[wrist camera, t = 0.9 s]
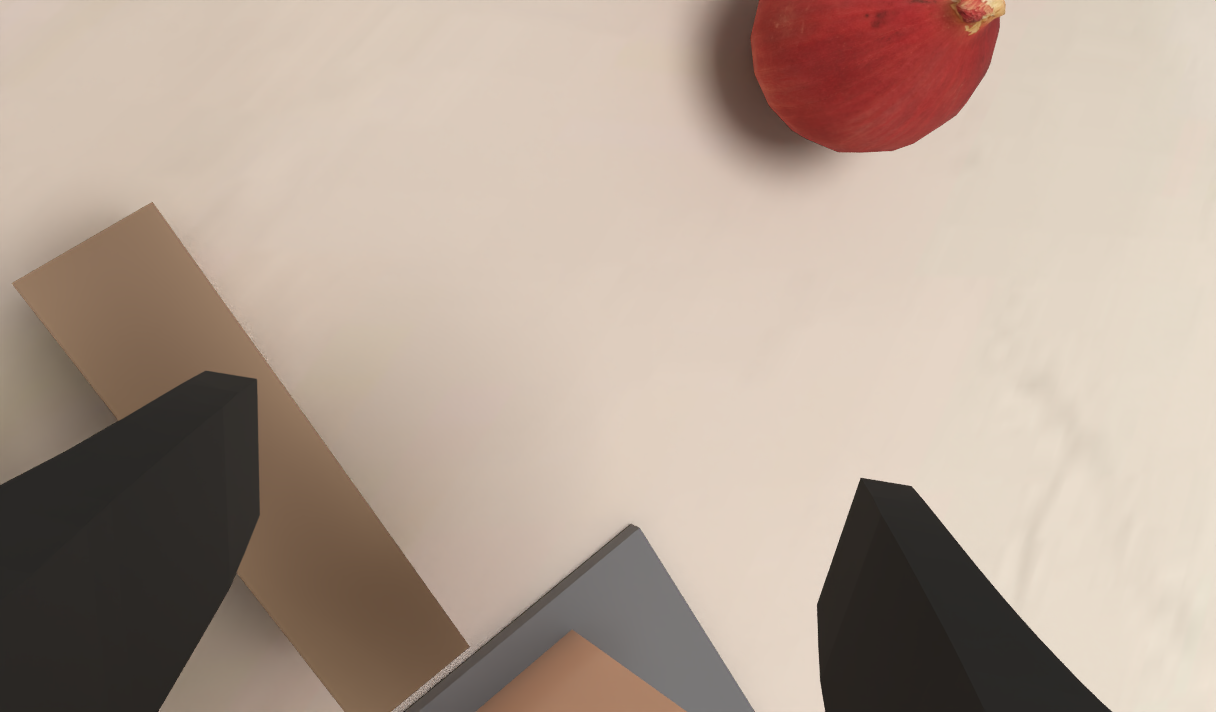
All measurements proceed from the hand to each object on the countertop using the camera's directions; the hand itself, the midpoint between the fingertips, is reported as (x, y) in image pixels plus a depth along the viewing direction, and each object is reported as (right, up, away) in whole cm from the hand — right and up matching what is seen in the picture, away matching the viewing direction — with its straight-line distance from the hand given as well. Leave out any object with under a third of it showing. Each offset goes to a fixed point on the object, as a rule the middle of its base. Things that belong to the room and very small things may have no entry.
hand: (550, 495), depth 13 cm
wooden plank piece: (-8, 0, +11) cm, 14 cm away
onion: (+6, +10, +17) cm, 21 cm away
